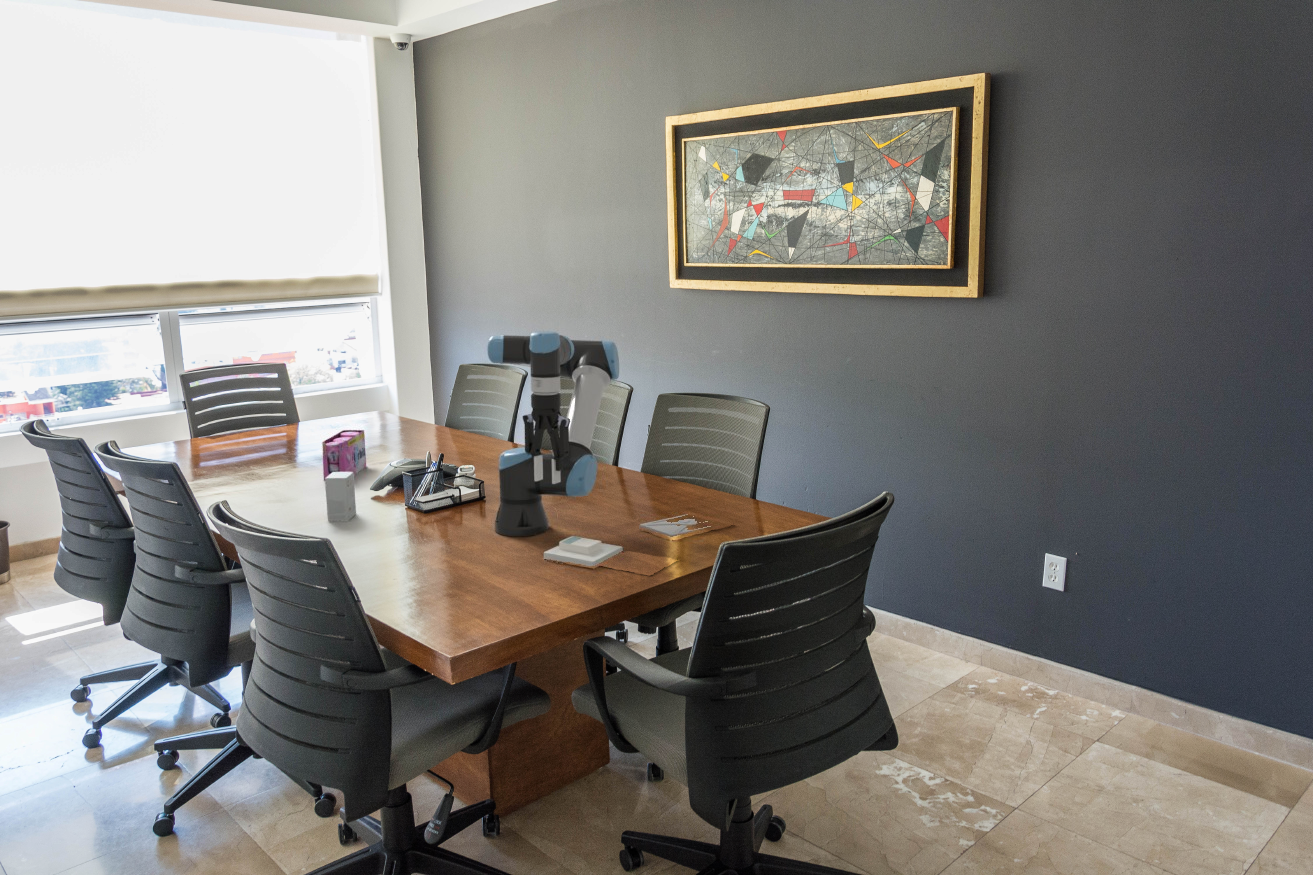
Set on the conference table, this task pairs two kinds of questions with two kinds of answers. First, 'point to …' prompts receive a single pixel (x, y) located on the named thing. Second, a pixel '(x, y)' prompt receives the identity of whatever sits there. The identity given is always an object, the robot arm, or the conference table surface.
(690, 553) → the conference table surface
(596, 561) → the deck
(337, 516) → the small box
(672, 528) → the envelope
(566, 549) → the card
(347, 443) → the gum box
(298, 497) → the conference table surface
